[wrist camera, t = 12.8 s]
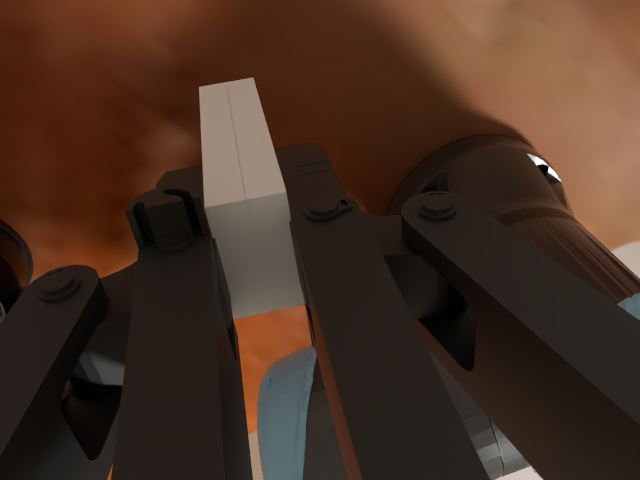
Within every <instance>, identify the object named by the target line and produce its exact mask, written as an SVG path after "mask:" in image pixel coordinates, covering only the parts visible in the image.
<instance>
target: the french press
mask: <svg viewBox="0 0 640 480" xmlns="http://www.w3.org/2000/svg"><path fill="white" fill-rule="evenodd" d="M0 259H1V260H2V261H3V262H4V263H5V264H6V265H7V267H8V268H9V269H10V270H11V272H12V274H13V277H12V279H11V281H10V283H9V284H8V285H7V286H6V287H5V288H4V289H2V290H0V323H1V322H2V321H3V319H4V318H5V316H6V315H7V314H8V312H9V311H10V309H11V308H12V307H13V305H14V304H15V303H16V301H17V300H18V298H19V297H20V296H21V294H22V293H23V291H24V290H25V289H26V288H27V286H28V285H29V283H30V280H31V277H32V274H33V260H32V256H31V252H30V250H29V248H28V246H27V244H26V243H25V241H24V240H23V239H22V237H21V236H20V235H19V234H18V233H17V232H16V231H15V230H14V229H13V228H11V227H10V226H9V225H7V224H6V223H4V222H3V221H1V220H0Z"/></svg>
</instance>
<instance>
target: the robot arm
mask: <svg viewBox="0 0 640 480" xmlns="http://www.w3.org/2000/svg"><path fill="white" fill-rule="evenodd" d="M199 98H200V120H201V142H202V164H203V165H200V166H194V167H189V168H184V169H178V170H173V171H168V172H166V173H165V174H164V175H163V176H162V178H161V179H160V180H159V181H158V182H157V184H156V189H154V190H150V191H148V192H146V193H144V194H142V195H140V196H138V197H137V198H136V199H134V200H133V201H132V202H131V203H130V204H129V205H128V207H127V209H126V211H125V212H126V215H127V218H128V221H129V223H130V226H131V229H132V232H133V234H134V237H135V240H136V242H137V245H138V248H139V253H138V261H136V262H135V263H133V264H132V265H130V266H129V267H126V268H124V269H122V270H120V271H118V272H116V273H113V274H111V275H108V276H106V277H103V278H101V279H100V278H99V276H98V274H97V272H96V270H95V269H93V268H91V267H89V266H84V265H71V266H66V267H60V268H57V269H55V270H51V271H49V272H47V273H45V274H44V275H42V276H41V277H39V278H38V279H36V280H34V281H33V282H32V283H31V284H30V285H29V286H28V287H27V288H26V289H25V290H24V291H23V293H22V294H21V296H20V297H19V298H18V300H17V301H16V303H15V304H14V305H13V307H12V308H11V309H10V311H9V312H8V314H7V315H6V316H5V318H4V319H3V321H2V322H1V323H0V480H107V477H108V475H109V472H110V470H111V467H112V464H113V468H112V476H111V480H253V477H252V468H251V458H250V449H249V439H248V430H247V421H246V411H245V402H244V392H243V383H242V373H241V364H240V355H239V345H238V336H237V332H236V329H235V325H234V321H233V317H232V312H233V315H234V319H238V318H243V317H248V316H252V315H257V314H262V313H266V312H271V311H276V310H280V309H285V308H290V307H295V306H299V305H304V304H305V306H306V312H307V317H308V323H309V329H310V335H311V341H312V345H309V346H307V347H305V348H302V349H300V350H298V351H296V352H293V353H291V354H289V355H286V356H284V357H282V358H280V359H278V360H276V361H275V362H274V363H273V364H271V365H270V367H269V368H268V369H267V371H266V372H265V374H264V376H263V378H262V381H261V384H260V388H259V394H258V402H257V431H258V443H259V453H260V460H261V466H262V472H263V478H264V480H495V479H497V478H499V477H501V476H504V475H507V474H510V473H513V472H516V471H518V470H521V469H524V468H526V467H529V466H532V468H533V469H534V472H535V473H537V474H538V475H539V477H540V478H542V479H543V480H640V278H639V277H637V276H636V275H635V274H634V273H633V272H632V271H630V269H629V268H628V267H627V266H625V265H624V264H623V263H622V262H621V261H620V260H619V259H618V258H617V257H616V256H615V255H614V254H613V253H611V252H610V251H609V250H608V249H607V248H606V247H605V246H604V245H603V244H602V243H601V242H600V241H598V240H597V239H596V238H595V237H594V236H593V235H592V234H591V233H590V232H589V231H588V230H586V229H585V228H584V227H583V226H582V225H581V224H580V223H579V222H578V221H577V220H576V219H575V217H574V215H573V212H572V209H571V207H570V204H569V202H568V199H567V196H566V194H565V191H564V188H563V186H562V183H561V180H560V178H559V176H558V174H557V173H556V171H555V170H554V168H553V167H552V166H551V165H550V163H549V162H548V161H547V160H546V159H544V158H543V157H542V156H541V155H540V154H539V153H538V152H536V151H535V150H534V149H533V148H532V147H530V146H529V145H527V144H526V143H524V142H522V141H520V140H517V139H514V138H511V137H507V136H501V135H481V136H474V137H469V138H466V139H462V140H459V141H456V142H454V143H451V144H449V145H447V146H445V147H443V148H441V149H439V150H438V151H436V152H434V153H433V154H432V155H430V156H429V157H427V158H426V159H425V160H424V161H422V162H421V163H420V164H419V165H418V166H417V167H416V168H415V169H414V170H413V171H412V172H411V173H410V174H409V175H408V177H407V178H406V179H405V180H404V182H403V183H402V185H401V186H400V188H399V189H398V191H397V193H396V195H395V197H394V199H393V202H392V204H391V207H390V210H389V214H388V215H387V216H385V215H373V214H368V213H364V212H362V211H361V209H360V207H359V205H358V204H357V203H356V202H355V201H354V200H353V199H352V198H349V197H347V196H345V193H344V191H343V189H342V187H341V185H340V182H339V180H338V178H337V176H336V174H335V172H334V171H333V167H332V165H331V163H330V161H329V159H328V156H327V154H326V152H325V150H323V149H322V148H320V147H318V146H317V145H315V144H313V143H308V144H303V145H297V146H292V147H287V148H281V149H276V150H274V147H273V144H272V141H271V137H270V134H269V130H268V127H267V123H266V120H265V116H264V113H263V110H262V106H261V103H260V99H259V96H258V92H257V89H256V85H255V82H254V79H253V78H247V79H241V80H236V81H230V82H224V83H219V84H213V85H207V86H202V87H199Z"/></svg>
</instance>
